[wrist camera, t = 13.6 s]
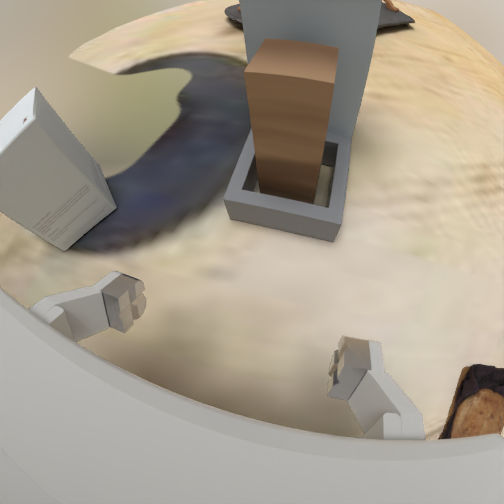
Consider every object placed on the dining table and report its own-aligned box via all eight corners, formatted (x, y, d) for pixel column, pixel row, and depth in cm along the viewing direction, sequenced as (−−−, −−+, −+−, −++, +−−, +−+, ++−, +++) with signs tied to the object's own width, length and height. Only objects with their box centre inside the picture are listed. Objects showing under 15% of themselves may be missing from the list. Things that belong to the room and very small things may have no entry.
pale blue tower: (338, 243, 20) (431, 10, 4) (225, 218, 21) (142, -7, 5) (353, 116, 24) (380, -37, 8) (269, 101, 26) (256, -51, 10)
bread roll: (479, 469, 11) (500, 478, 8) (415, 479, 13) (435, 496, 9) (510, 366, 14) (535, 365, 11) (455, 362, 16) (482, 362, 12)
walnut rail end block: (311, 213, 21) (334, 83, 10) (261, 202, 21) (243, 71, 10) (319, 172, 22) (338, 47, 11) (273, 163, 23) (265, 38, 11)
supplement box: (100, 164, 25) (38, 82, 13) (119, 209, 23) (34, 117, 11) (52, 204, 24) (-20, 140, 12) (63, 254, 22) (-33, 192, 10)
